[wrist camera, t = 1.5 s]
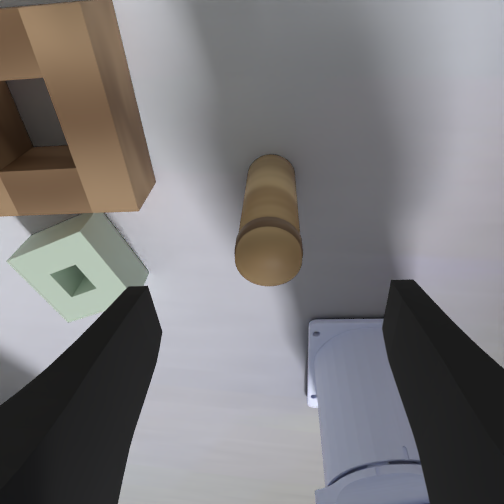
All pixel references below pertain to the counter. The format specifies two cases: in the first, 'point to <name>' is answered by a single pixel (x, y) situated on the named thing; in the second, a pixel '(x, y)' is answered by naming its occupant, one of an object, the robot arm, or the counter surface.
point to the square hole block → (71, 113)
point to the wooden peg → (269, 224)
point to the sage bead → (79, 265)
